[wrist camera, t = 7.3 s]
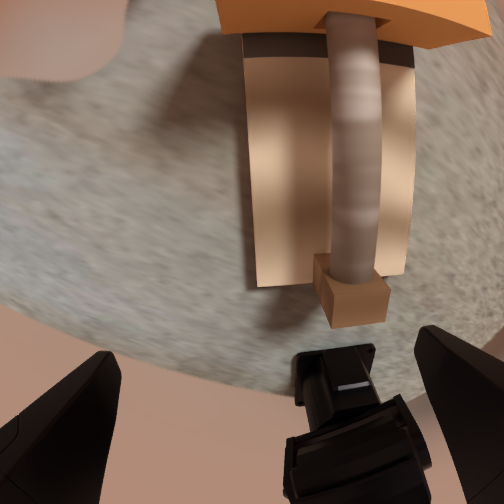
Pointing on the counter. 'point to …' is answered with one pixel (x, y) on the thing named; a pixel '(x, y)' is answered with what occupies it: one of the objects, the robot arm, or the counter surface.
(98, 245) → the counter surface
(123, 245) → the counter surface
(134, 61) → the counter surface
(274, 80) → the rod board
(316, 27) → the collar
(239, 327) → the counter surface
